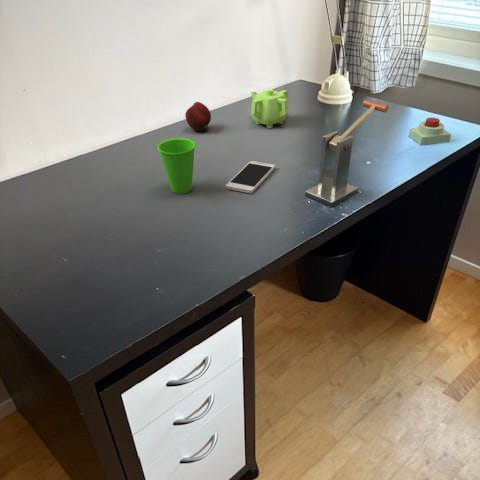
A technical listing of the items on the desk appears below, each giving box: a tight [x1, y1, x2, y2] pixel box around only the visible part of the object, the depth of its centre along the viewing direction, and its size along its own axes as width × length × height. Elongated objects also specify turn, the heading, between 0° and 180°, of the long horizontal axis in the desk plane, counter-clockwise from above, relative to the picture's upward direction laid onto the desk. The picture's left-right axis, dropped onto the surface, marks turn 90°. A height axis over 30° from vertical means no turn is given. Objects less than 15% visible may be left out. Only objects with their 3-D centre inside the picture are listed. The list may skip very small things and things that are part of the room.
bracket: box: [304, 130, 359, 208], centre depth 109 cm, size 10×8×14 cm
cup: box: [156, 137, 197, 195], centre depth 114 cm, size 9×9×11 cm
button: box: [425, 117, 441, 128], centre depth 134 cm, size 4×4×2 cm
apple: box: [184, 101, 212, 132], centre depth 144 cm, size 7×8×8 cm
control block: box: [407, 120, 452, 146], centre depth 136 cm, size 9×7×4 cm
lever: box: [329, 99, 390, 153], centre depth 107 cm, size 16×6×2 cm, turn 134°
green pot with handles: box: [250, 88, 290, 129], centre depth 146 cm, size 12×12×10 cm
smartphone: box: [225, 160, 276, 194], centre depth 120 cm, size 7×16×1 cm, turn 155°
